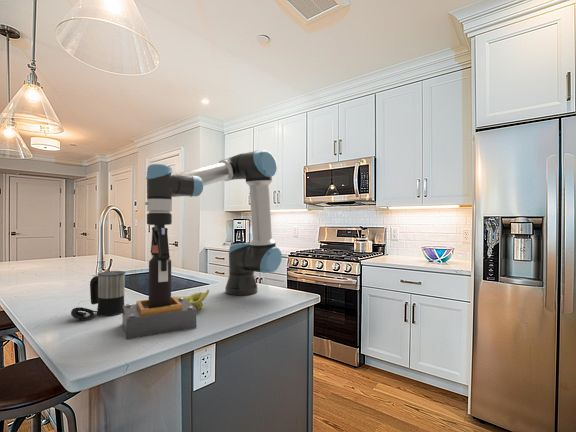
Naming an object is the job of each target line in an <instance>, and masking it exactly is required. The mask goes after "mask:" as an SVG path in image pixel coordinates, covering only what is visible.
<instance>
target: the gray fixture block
mask: <svg viewBox="0 0 576 432" xmlns="http://www.w3.org/2000/svg"><path fill="white" fill-rule="evenodd" d="M175 297H176V296H171V305H168V306H161V307H153V308H149V299H143V300H136V303H135V304H132V303H127V304H125V305H124V306H123V310H122V313H121V314H122V316H121V317H122V320H121V321H122V323H121V324H122V329H123V332H124V336H125V340H126V341H127V340H133V339H139V338H146V337H150V336H157V335H162V334H163V335H164V334H168V333H169V334H170V333H174V332H179V331H180V332H181V331H186V330H191V329H197V328H198V327H197V319H198V318H197V310H198V309H196V308H195V307H194V306H193V305H192V304H190V303H189V302H188V301H187V300H186V299H185V298H178V299H176V298H175Z"/></svg>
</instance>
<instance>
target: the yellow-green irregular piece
mask: <svg viewBox="0 0 576 432" xmlns="http://www.w3.org/2000/svg"><path fill="white" fill-rule="evenodd" d="M209 292H210V289H207V290H206V292H201V291H200V292H195V293H193V294H190V295H188V296H174V297H175V298H176V299H178V298H185V299H186V300H187V301H188V302H189V303H190V304H192V305H193V306H194V307H195V308H196V309H197V310H198V309H199V310H200V309H202V307H203V306H204V305H203V301H204V300H205V299H206V298H207V296H208V295H209Z"/></svg>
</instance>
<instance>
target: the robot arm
mask: <svg viewBox="0 0 576 432" xmlns="http://www.w3.org/2000/svg"><path fill="white" fill-rule="evenodd" d="M277 169H278V166H277V161H276V158H275V157H274V156H273V154H272V153H271V152H270V151H268V150H254V151H249V152H244V153H238V154H236V155H233V156H231V157H228V158H225V159H221V160H219V161H218V163H215V164H211V165H206V166H202V167H198V168H194V169H190V170H186V171H183V172H179V173H176V172H173V169H172V166H171V165H168V164H162V163H154V164H150V165H148V166H147V168H146V201H145V202H144V205H145V206H146V211H147V212H148V213H147V214H146V225H149V226H152V228H151V244H150V255H151V259H152V258H153V254H152V246H154V245H157V246H158V254H159V258H157V261H158V282H167V281H168V259H170V257H171V256H170V247H169V237H168V235H169V234H168V228H167V227H165V226H168V225H172V222H173V220H172V218H173V214H172V213H171V212H172V210H173V200H172V199H173V198H175V197H176V198H177V197H190V198H192V197H199V196H200V195H201V194H202V193H203V190H204V187H205V186H209V185H211V184H215V183H218V182H222V181H225V182H229V181H232V180H233V181H234V180H245V183H246V184H247V185H248V186H249V201H250V216H251V232H252V240H251V241H250V242H243V243H242V242H241V243H233V244H230V246H229V250H228V251H229V252H228V278H227V281H226V285H225V287H224V289H225V290H224V291H225V294H227V295H231V296H247V295H252V294H256V293H258V284H257V280H256V278H255V273H256V272H257V273H262V274H273V273H274V272H276V271H277V270H278V269H279V267H280V266H281V262H282V257H283V255H282V251H281V250H280V248H279V247H277V245H276V241H275V240H274V239H273V237H272V236H273V235H272V233H273V232H272V218H271V201H270V198H271V197H270V184H271V183H273V177H274V176H275V175H276V173H277Z"/></svg>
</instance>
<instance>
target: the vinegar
mask: <svg viewBox="0 0 576 432" xmlns="http://www.w3.org/2000/svg"><path fill="white" fill-rule="evenodd" d="M152 254H153V258H152V257H151V258H150V259H149V261H148V300H149V308H153V307H161V306H168V305H171V297H172V259H170V258H169V259H168V281H167V282H158V261H157V258H159V254H158V246H157V245H154V246H152Z"/></svg>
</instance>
